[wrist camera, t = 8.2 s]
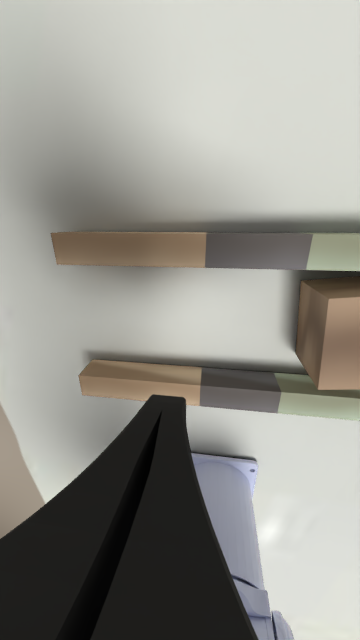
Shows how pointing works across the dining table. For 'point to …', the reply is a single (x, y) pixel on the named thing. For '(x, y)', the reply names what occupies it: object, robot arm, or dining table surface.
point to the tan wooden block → (330, 332)
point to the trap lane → (215, 252)
